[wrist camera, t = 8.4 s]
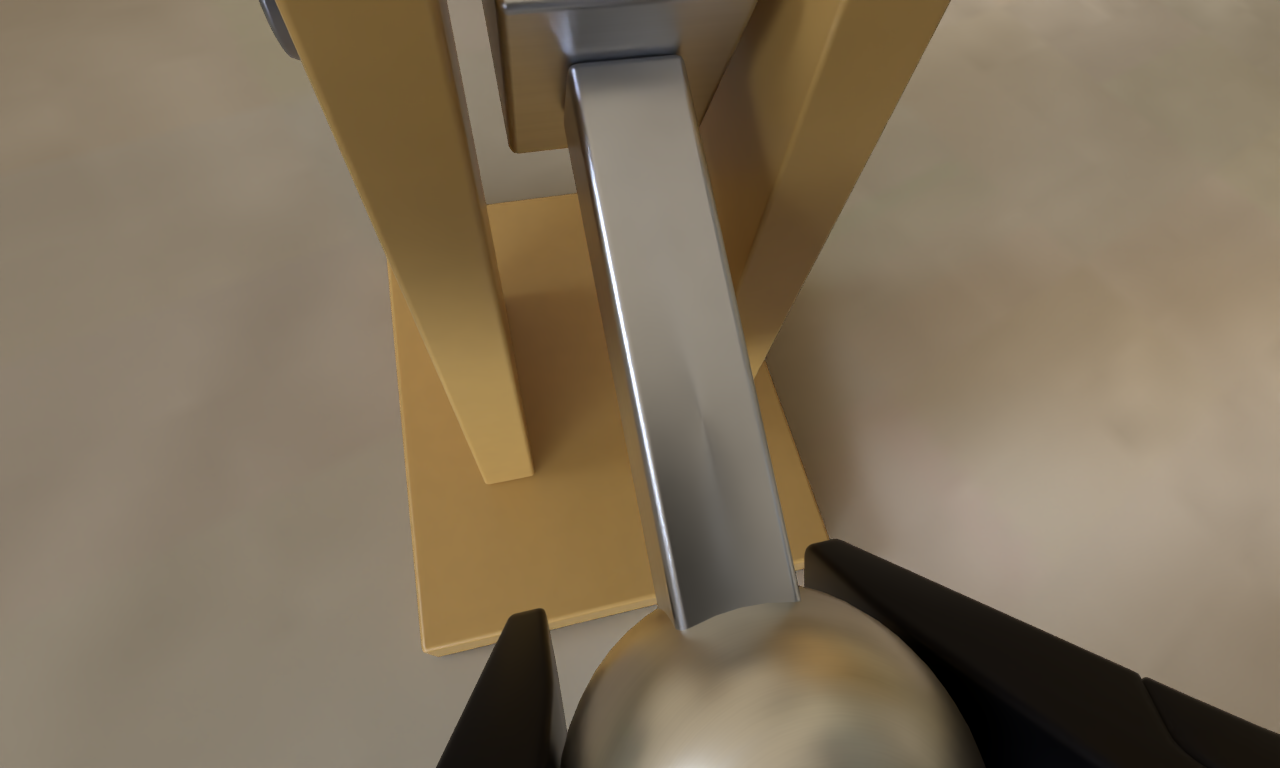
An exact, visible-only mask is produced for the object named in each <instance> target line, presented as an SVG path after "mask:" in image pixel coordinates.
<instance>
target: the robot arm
mask: <svg viewBox="0 0 1280 768" xmlns="http://www.w3.org/2000/svg"><path fill="white" fill-rule="evenodd" d="M804 587H806V588H810V589H814V590H817V591H821V592H824V593H826V594H829V595H831V596H833V597H836V598H838V599H841V600H843V601H845V602H847V603H849V604H850V605H852V606H854V607H855V608H857V609H859V610H861V611H862V612H864V613H866V614H867V615H869V616H871V617H872V618H874V619H876V620H877V621H879V622H880V623H882V624H883V625H884V626H885V627H887V628H888V629H889V630H890V631H892V632H893V633H894V634H896V635H897V636H898V637H899V638H900V639H901V640H902V641H903V642H904V643H906V644H907V645H908V646H909V647H910V648H911V649H912V650H913V651H914V652H915V653H916V654H917V655H918V657H919V658H920V659H921V660H922V661H923V662H924V663H925V664H926V665H927V666H928V667H929V668H930V669H931V670H932V672H933V673H934V674H935V676H936V677H937V678H938V680H939V681H940V682H941V684H942V685H943V686H944V688H945V689H946V690H947V692H948V693H949V695H950V696H951V698H952V699H953V701H954V702H955V704H956V706H957V707H958V709H959V711H960V713H961V714H962V716H963V718H964V719H965V721H966V723H967V725H968V726H969V728H970V731H971V733H972V735H973V738H974V740H975V742H976V744H977V747H978V749H979V751H980V754H981V756H982V759H983V761H984V764H985V766H986V768H1280V734H1278V733H1275V732H1272V731H1270V730H1267V729H1265V728H1262V727H1260V726H1258V725H1255V724H1253V723H1251V722H1248V721H1246V720H1244V719H1241V718H1239V717H1237V716H1234V715H1232V714H1230V713H1228V712H1225V711H1223V710H1221V709H1218V708H1216V707H1214V706H1211V705H1209V704H1207V703H1204V702H1202V701H1200V700H1197V699H1195V698H1193V697H1190V696H1188V695H1186V694H1184V693H1181V692H1179V691H1177V690H1175V689H1173V688H1170V687H1168V686H1166V685H1164V684H1161V683H1159V682H1157V681H1155V680H1152V679H1150V678H1147V677H1145V678H1143V679H1141V677H1140V676H1139V674H1138V673H1136V672H1134V671H1132V670H1130V669H1127V668H1125V667H1123V666H1121V665H1119V664H1116V663H1114V662H1112V661H1110V660H1107V659H1105V658H1103V657H1101V656H1098V655H1096V654H1094V653H1092V652H1090V651H1087V650H1085V649H1083V648H1081V647H1078V646H1076V645H1074V644H1072V643H1069V642H1067V641H1065V640H1063V639H1061V638H1058V637H1056V636H1054V635H1052V634H1049V633H1047V632H1045V631H1043V630H1040V629H1038V628H1036V627H1034V626H1032V625H1029V624H1027V623H1025V622H1023V621H1020V620H1018V619H1016V618H1014V617H1011V616H1009V615H1007V614H1005V613H1003V612H1000V611H998V610H996V609H994V608H991V607H989V606H987V605H985V604H982V603H980V602H978V601H976V600H974V599H971V598H969V597H967V596H965V595H962V594H960V593H958V592H956V591H953V590H951V589H949V588H947V587H945V586H942V585H940V584H938V583H936V582H933V581H931V580H929V579H927V578H925V577H922V576H920V575H918V574H916V573H913V572H911V571H909V570H907V569H904V568H902V567H900V566H898V565H896V564H893V563H891V562H889V561H887V560H884V559H882V558H880V557H878V556H875V555H873V554H871V553H869V552H867V551H864V550H862V549H860V548H858V547H855V546H853V545H851V544H849V543H846V542H844V541H842V540H839V539H830V540H826V541H822V542H818V543H813V544H810V545H809V546H808V547H807V548H806V550H805V554H804ZM566 737H567V728H566V722H565V716H564V709H563V703H562V697H561V690H560V684H559V678H558V672H557V666H556V661H555V656H554V650H553V645H552V640H551V635H550V630H549V625H548V620H547V615H546V612H545V610H544V609H542V608H536V609H532V610H528V611H524V612H519V613H515V614H513V615H511V616H510V617H509V618H508V620H507V622H506V624H505V626H504V628H503V630H502V632H501V634H500V636H499V638H498V641H497V643H496V645H495V647H494V649H493V651H492V653H491V655H490V657H489V659H488V661H487V663H486V665H485V667H484V670H483V672H482V674H481V676H480V678H479V680H478V682H477V684H476V686H475V688H474V690H473V692H472V694H471V696H470V698H469V701H468V703H467V705H466V707H465V709H464V711H463V713H462V715H461V717H460V719H459V721H458V723H457V725H456V727H455V729H454V732H453V734H452V736H451V738H450V740H449V742H448V744H447V746H446V748H445V750H444V752H443V754H442V756H441V758H440V761H439V763H438V765H437V767H436V768H560V763H561V756H562V752H563V748H564V745H565V741H566Z"/></svg>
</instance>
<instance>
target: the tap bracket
mask: <svg viewBox="0 0 1280 768" xmlns="http://www.w3.org/2000/svg"><path fill="white" fill-rule="evenodd" d="M950 1H951V0H758V2H757V4H756V6H755V9H754V11H753V13H752V15H751V17H750V19H749V22H748V24H747V26H746V28H745V30H744V32H743V34H742V37H741V39H740V41H739V43H738V45H737V47H736V50H735V52H734V54H733V56H732V58H731V60H730V62H729V65H728V67H727V69H726V71H725V73H724V75H723V78H722V80H721V82H720V84H719V86H718V88H717V91H716V93H715V95H714V97H713V99H712V101H711V103H710V106H709V108H708V110H707V112H706V114H705V116H704V119H703V121H702V123H701V125H700V127H699V130H700V135H701V139H702V144H703V148H704V153H705V158H706V162H707V167H708V171H709V176H710V181H711V185H712V190H713V195H714V199H715V204H716V208H717V213H718V218H719V222H720V227H721V231H722V236H723V241H724V245H725V250H726V255H727V259H728V264H729V268H730V273H731V278H732V282H733V287H734V291H735V296H736V301H737V305H738V310H739V314H740V319H741V324H742V328H743V333H744V338H745V342H746V347H747V351H748V356H749V361H750V365H751V370H752V374H753V379H754V384H755V388H756V393H757V397H758V402H759V407H760V411H761V416H762V421H763V425H764V430H765V434H766V439H767V444H768V448H769V453H770V457H771V462H772V467H773V471H774V476H775V480H776V485H777V490H778V494H779V499H780V504H781V508H782V513H783V517H784V522H785V527H786V531H787V536H788V540H789V545H790V550H791V554H792V559H793V563H794V568H795V571H796V570H800V569H804V554H805V550H806V548H807V547H808V546H809V545H810V544H813V543H818V542H822V541H826V540H830V539H829V536H828V533H827V530H826V528H825V525H824V522H823V519H822V517H821V514H820V511H819V508H818V506H817V503H816V500H815V497H814V494H813V492H812V489H811V486H810V483H809V481H808V478H807V475H806V472H805V470H804V467H803V464H802V461H801V458H800V456H799V453H798V450H797V447H796V445H795V442H794V439H793V436H792V434H791V431H790V428H789V425H788V422H787V420H786V417H785V414H784V411H783V409H782V406H781V403H780V400H779V398H778V395H777V392H776V389H775V387H774V384H773V381H772V378H771V375H770V373H769V370H768V367H767V364H766V362H765V357H766V355H767V353H768V352H769V350H770V348H771V346H772V344H773V342H774V340H775V338H776V336H777V334H778V332H779V330H780V328H781V327H782V325H783V323H784V321H785V319H786V317H787V315H788V313H789V311H790V309H791V307H792V305H793V303H794V301H795V300H796V298H797V296H798V294H799V292H800V290H801V288H802V286H803V284H804V282H805V280H806V278H807V276H808V275H809V273H810V271H811V269H812V267H813V265H814V263H815V261H816V259H817V257H818V255H819V253H820V251H821V249H822V248H823V246H824V244H825V242H826V240H827V238H828V236H829V234H830V232H831V230H832V228H833V226H834V224H835V223H836V221H837V219H838V217H839V215H840V213H841V211H842V209H843V207H844V205H845V203H846V201H847V199H848V197H849V196H850V194H851V192H852V190H853V188H854V186H855V184H856V182H857V180H858V178H859V176H860V174H861V172H862V171H863V169H864V167H865V165H866V163H867V161H868V159H869V157H870V155H871V153H872V151H873V149H874V147H875V145H876V144H877V142H878V140H879V138H880V136H881V134H882V132H883V130H884V128H885V126H886V124H887V122H888V120H889V119H890V117H891V115H892V113H893V111H894V109H895V107H896V105H897V103H898V101H899V99H900V97H901V95H902V93H903V92H904V90H905V88H906V86H907V84H908V82H909V80H910V78H911V76H912V74H913V72H914V70H915V68H916V67H917V65H918V63H919V61H920V59H921V57H922V55H923V53H924V51H925V49H926V47H927V45H928V43H929V42H930V40H931V38H932V36H933V34H934V32H935V30H936V28H937V26H938V24H939V22H940V20H941V18H942V16H943V15H944V13H945V11H946V9H947V7H948V5H949V3H950ZM259 2H260V5H261V7H262V9H263V12H264V14H265V16H266V19H267V21H268V23H269V25H270V27H271V29H272V31H273V33H274V35H275V37H276V38H277V40H278V42H279V43H280V45H281V46H282V48H283V49H284V50H285V52H286V53H287V54H288V55H289V56H290V57H292V58H295V59H298V60H301V62H302V64H303V66H304V69H305V71H306V73H307V76H308V78H309V80H310V82H311V85H312V87H313V89H314V92H315V94H316V96H317V98H318V101H319V103H320V105H321V108H322V110H323V112H324V115H325V117H326V119H327V121H328V124H329V126H330V128H331V131H332V133H333V135H334V137H335V140H336V142H337V144H338V147H339V149H340V151H341V154H342V156H343V158H344V160H345V163H346V165H347V167H348V170H349V172H350V174H351V176H352V179H353V181H354V183H355V186H356V188H357V190H358V193H359V195H360V197H361V199H362V202H363V204H364V206H365V209H366V211H367V213H368V215H369V218H370V220H371V222H372V225H373V227H374V229H375V232H376V234H377V236H378V238H379V241H380V243H381V245H382V248H383V250H384V252H385V254H386V257H387V266H388V277H389V289H390V300H391V311H392V322H393V333H394V344H395V356H396V367H397V378H398V389H399V400H400V412H401V423H402V434H403V445H404V456H405V468H406V479H407V490H408V501H409V512H410V523H411V535H412V546H413V557H414V568H415V579H416V591H417V602H418V613H419V624H420V635H421V646H422V650H423V652H425V653H428V654H431V655H433V656H437V657H440V656H444V655H448V654H453V653H457V652H461V651H465V650H469V649H473V648H477V647H482V646H486V645H490V644H494V643H497V641H498V638H499V636H500V634H501V632H502V630H503V628H504V626H505V624H506V622H507V620H508V618H509V617H510V616H511V615H513V614H515V613H519V612H524V611H528V610H532V609H536V608H542V609H544V610H545V612H546V615H547V620H548V625H549V630H552V629H556V628H560V627H564V626H568V625H573V624H577V623H581V622H585V621H589V620H593V619H597V618H602V617H606V616H610V615H614V614H618V613H622V612H626V611H631V610H635V609H639V608H643V607H647V606H651V605H655V604H657V600H656V595H655V589H654V584H653V579H652V574H651V569H650V564H649V559H648V554H647V548H646V543H645V538H644V533H643V528H642V523H641V518H640V513H639V507H638V502H637V497H636V492H635V487H634V482H633V477H632V472H631V466H630V461H629V456H628V451H627V446H626V441H625V436H624V431H623V425H622V420H621V415H620V410H619V405H618V400H617V395H616V389H615V384H614V379H613V374H612V369H611V364H610V359H609V354H608V348H607V343H606V338H605V333H604V328H603V323H602V318H601V313H600V307H599V302H598V297H597V292H596V287H595V282H594V277H593V272H592V266H591V261H590V256H589V251H588V246H587V241H586V236H585V231H584V225H583V220H582V215H581V210H580V205H579V200H578V195H577V193H574V194H566V195H558V196H550V197H542V198H535V199H527V200H519V201H511V202H503V203H495V204H487V205H486V202H485V196H484V191H483V186H482V181H481V176H480V170H479V165H478V160H477V155H476V150H475V144H474V139H473V134H472V129H471V124H470V119H469V113H468V108H467V103H466V98H465V93H464V87H463V82H462V77H461V72H460V67H459V62H458V56H457V51H456V46H455V41H454V36H453V30H452V25H451V20H450V15H449V10H448V5H447V0H259Z"/></svg>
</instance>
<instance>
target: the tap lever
mask: <svg viewBox="0 0 1280 768" xmlns="http://www.w3.org/2000/svg"><path fill="white" fill-rule="evenodd" d="M757 2H758V0H482V4H483V9H484V15H485V20H486V26H487V31H488V36H489V42H490V47H491V53H492V58H493V63H494V69H495V74H496V79H497V85H498V90H499V96H500V101H501V106H502V112H503V117H504V123H505V128H506V133H507V139H508V144H509V147H510V149H511V150H512V151H513V152H514V153H526V152H535V151H544V150H553V149H561V148H569V154H570V159H571V164H572V169H573V174H574V179H575V184H576V190H577V195H578V200H579V205H580V210H581V215H582V220H583V225H584V231H585V236H586V241H587V246H588V251H589V256H590V261H591V266H592V272H593V277H594V282H595V287H596V292H597V297H598V302H599V307H600V313H601V318H602V323H603V328H604V333H605V338H606V343H607V348H608V354H609V359H610V364H611V369H612V374H613V379H614V384H615V389H616V395H617V400H618V405H619V410H620V415H621V420H622V425H623V431H624V436H625V441H626V446H627V451H628V456H629V461H630V466H631V472H632V477H633V482H634V487H635V492H636V497H637V502H638V507H639V513H640V518H641V523H642V528H643V533H644V538H645V543H646V548H647V554H648V559H649V564H650V569H651V574H652V579H653V584H654V589H655V595H656V600H657V605H658V609H656V610H655V611H653V612H652V613H650V614H648V615H647V616H646V617H644V618H643V619H642V620H641V621H640V622H638V623H637V624H636V625H635V626H634V627H633V628H631V629H630V630H629V631H628V632H627V633H626V634H625V635H624V636H623V637H622V638H621V639H620V640H619V641H618V643H617V644H616V645H615V646H614V647H613V648H612V649H611V650H610V651H609V653H608V654H607V656H606V657H605V658H604V660H603V661H602V663H601V664H600V665H599V667H598V668H597V670H596V671H595V673H594V674H593V676H592V678H591V680H590V682H589V684H588V686H587V687H586V689H585V691H584V693H583V695H582V697H581V699H580V701H579V704H578V706H577V709H576V711H575V714H574V716H573V719H572V721H571V724H570V727H569V729H568V733H567V737H566V741H565V745H564V748H563V752H562V756H561V763H560V768H986V766H985V764H984V761H983V759H982V756H981V754H980V751H979V749H978V747H977V744H976V742H975V740H974V738H973V735H972V733H971V731H970V728H969V726H968V725H967V723H966V721H965V719H964V718H963V716H962V714H961V713H960V711H959V709H958V707H957V706H956V704H955V702H954V701H953V699H952V698H951V696H950V695H949V693H948V692H947V690H946V689H945V688H944V686H943V685H942V684H941V682H940V681H939V680H938V678H937V677H936V676H935V674H934V673H933V672H932V670H931V669H930V668H929V667H928V666H927V665H926V664H925V663H924V662H923V661H922V660H921V659H920V658H919V657H918V655H917V654H916V653H915V652H914V651H913V650H912V649H911V648H910V647H909V646H908V645H907V644H906V643H904V642H903V641H902V640H901V639H900V638H899V637H898V636H897V635H896V634H894V633H893V632H892V631H890V630H889V629H888V628H887V627H885V626H884V625H883V624H882V623H880V622H879V621H877V620H876V619H874V618H872V617H871V616H869V615H867V614H866V613H864V612H862V611H861V610H859V609H857V608H855V607H854V606H852V605H850V604H849V603H847V602H845V601H843V600H841V599H838V598H836V597H833V596H831V595H829V594H826V593H824V592H821V591H817V590H814V589H810V588H806V587H802V586H798V582H797V577H796V573H795V568H794V563H793V559H792V554H791V550H790V545H789V540H788V536H787V531H786V527H785V522H784V517H783V513H782V508H781V504H780V499H779V494H778V490H777V485H776V480H775V476H774V471H773V467H772V462H771V457H770V453H769V448H768V444H767V439H766V434H765V430H764V425H763V421H762V416H761V411H760V407H759V402H758V397H757V393H756V388H755V384H754V379H753V374H752V370H751V365H750V361H749V356H748V351H747V347H746V342H745V338H744V333H743V328H742V324H741V319H740V314H739V310H738V305H737V301H736V296H735V291H734V287H733V282H732V278H731V273H730V268H729V264H728V259H727V255H726V250H725V245H724V241H723V236H722V231H721V227H720V222H719V218H718V213H717V208H716V204H715V199H714V195H713V190H712V185H711V181H710V176H709V171H708V167H707V162H706V158H705V153H704V148H703V144H702V139H701V135H700V130H699V127H700V125H701V123H702V121H703V119H704V116H705V114H706V112H707V110H708V108H709V106H710V103H711V101H712V99H713V97H714V95H715V93H716V91H717V88H718V86H719V84H720V82H721V80H722V78H723V75H724V73H725V71H726V69H727V67H728V65H729V62H730V60H731V58H732V56H733V54H734V52H735V50H736V47H737V45H738V43H739V41H740V39H741V37H742V34H743V32H744V30H745V28H746V26H747V24H748V22H749V19H750V17H751V15H752V13H753V11H754V9H755V6H756V4H757Z"/></svg>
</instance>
